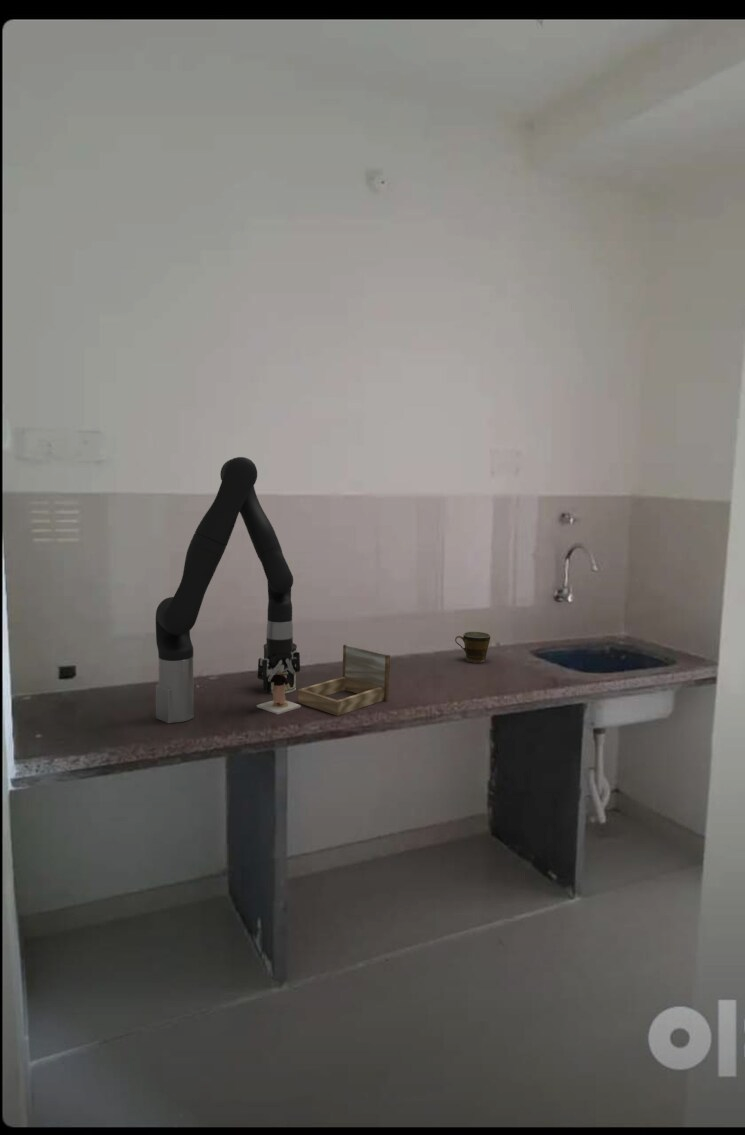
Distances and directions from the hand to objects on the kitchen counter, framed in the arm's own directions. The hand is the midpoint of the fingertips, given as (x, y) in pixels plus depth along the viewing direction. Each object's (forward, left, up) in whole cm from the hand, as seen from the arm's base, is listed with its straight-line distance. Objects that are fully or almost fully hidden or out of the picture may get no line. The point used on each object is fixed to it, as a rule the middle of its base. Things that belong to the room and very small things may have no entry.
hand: (279, 690), depth 214 cm
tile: (0, 0, -5) cm, 5 cm away
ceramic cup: (+86, -10, -5) cm, 87 cm away
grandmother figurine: (0, 0, -5) cm, 5 cm away
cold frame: (+17, -9, -5) cm, 20 cm away
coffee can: (+12, +13, -5) cm, 18 cm away
